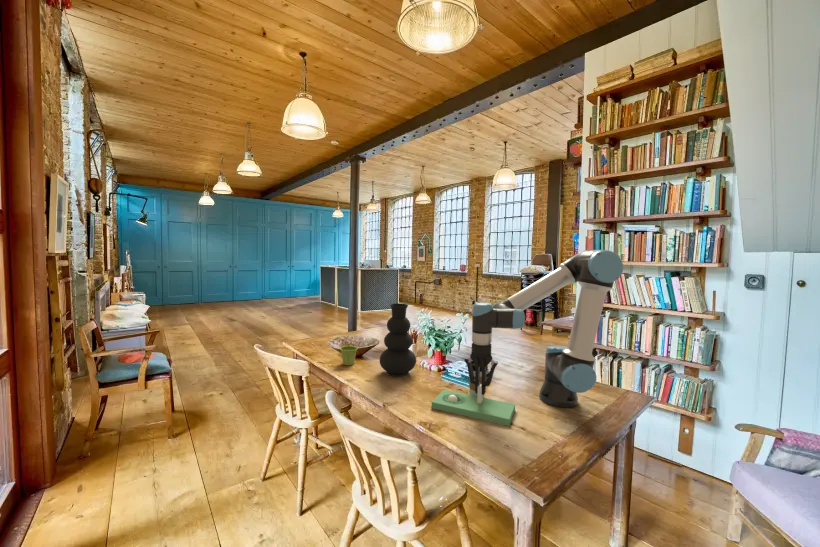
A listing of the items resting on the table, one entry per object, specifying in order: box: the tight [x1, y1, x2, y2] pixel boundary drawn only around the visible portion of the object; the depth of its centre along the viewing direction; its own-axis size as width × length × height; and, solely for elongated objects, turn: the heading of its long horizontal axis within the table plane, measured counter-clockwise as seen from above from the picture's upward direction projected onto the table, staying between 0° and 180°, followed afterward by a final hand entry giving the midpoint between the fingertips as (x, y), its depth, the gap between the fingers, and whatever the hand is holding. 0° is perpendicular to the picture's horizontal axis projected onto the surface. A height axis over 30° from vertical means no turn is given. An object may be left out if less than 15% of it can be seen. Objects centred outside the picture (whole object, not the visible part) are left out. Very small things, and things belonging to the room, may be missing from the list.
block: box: [431, 389, 516, 427], centre depth 138 cm, size 30×14×2 cm, turn 65°
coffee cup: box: [468, 361, 489, 398], centre depth 150 cm, size 8×8×15 cm
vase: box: [379, 302, 417, 377], centre depth 175 cm, size 18×18×35 cm
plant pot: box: [339, 345, 359, 366], centre depth 188 cm, size 9×9×9 cm
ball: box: [448, 395, 458, 402], centre depth 141 cm, size 4×4×4 cm
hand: (480, 401), depth 137 cm, fingers closed
